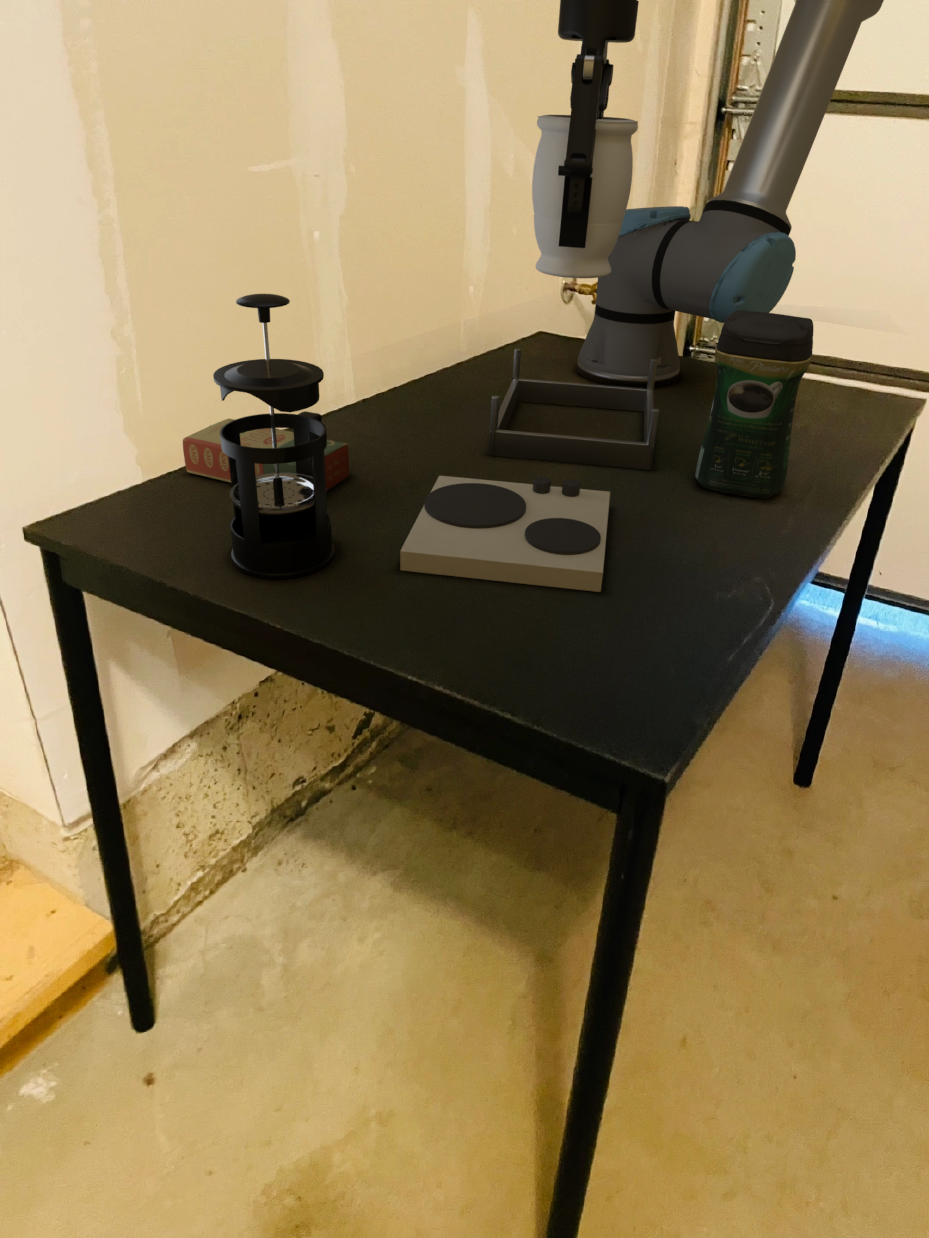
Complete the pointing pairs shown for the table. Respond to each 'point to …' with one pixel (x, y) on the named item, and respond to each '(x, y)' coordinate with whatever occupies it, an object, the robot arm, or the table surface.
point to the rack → (574, 446)
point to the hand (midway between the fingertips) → (576, 239)
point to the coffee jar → (754, 402)
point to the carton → (212, 462)
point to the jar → (605, 198)
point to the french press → (277, 496)
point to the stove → (511, 533)
